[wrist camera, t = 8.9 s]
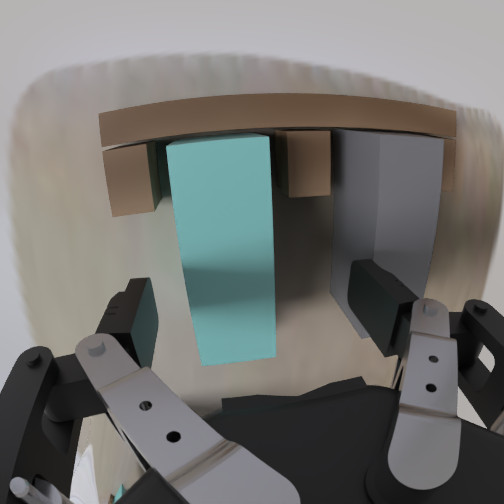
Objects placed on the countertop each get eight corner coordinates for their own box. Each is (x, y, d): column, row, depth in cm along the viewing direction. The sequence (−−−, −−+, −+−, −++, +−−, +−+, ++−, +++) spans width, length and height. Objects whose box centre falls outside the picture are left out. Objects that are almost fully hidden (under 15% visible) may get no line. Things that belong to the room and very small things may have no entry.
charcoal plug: (374, 301, 21) (410, 344, 16) (327, 310, 20) (357, 359, 16) (387, 130, 16) (443, 139, 11) (332, 128, 15) (379, 134, 11)
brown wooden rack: (427, 181, 17) (452, 191, 15) (125, 202, 15) (112, 217, 13) (429, 109, 15) (456, 111, 13) (114, 114, 13) (98, 113, 11)
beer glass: (108, 438, 23) (94, 578, 9) (71, 391, 20) (33, 556, 7) (176, 435, 24) (182, 589, 10) (146, 386, 21) (136, 581, 7)
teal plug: (260, 321, 20) (276, 377, 15) (204, 328, 19) (206, 386, 15) (249, 132, 15) (269, 136, 10) (178, 138, 15) (165, 146, 10)
